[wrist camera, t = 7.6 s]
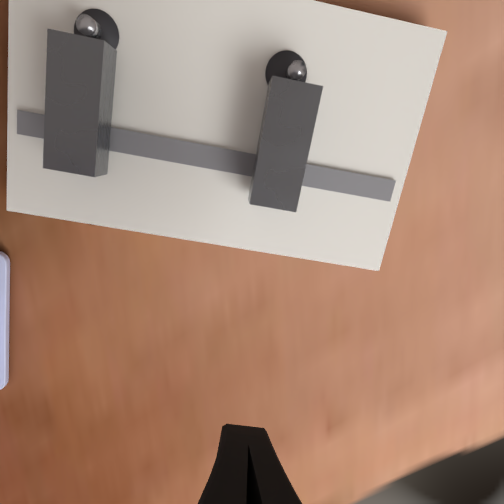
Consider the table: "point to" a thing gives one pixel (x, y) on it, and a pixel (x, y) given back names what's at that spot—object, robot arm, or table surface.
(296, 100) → the block
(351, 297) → the table surface
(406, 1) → the table surface
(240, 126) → the board
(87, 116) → the fixed point
